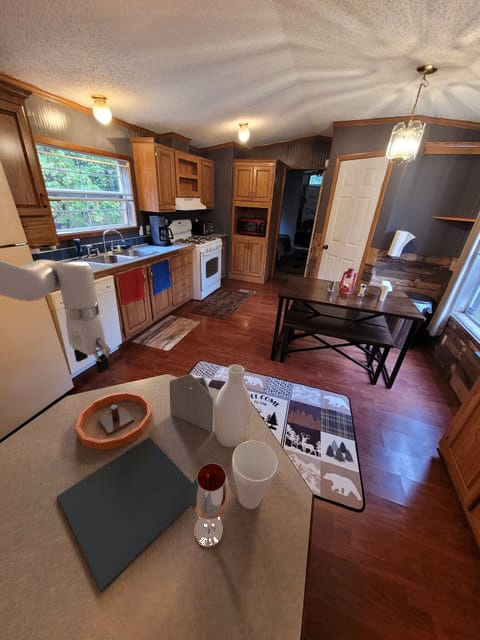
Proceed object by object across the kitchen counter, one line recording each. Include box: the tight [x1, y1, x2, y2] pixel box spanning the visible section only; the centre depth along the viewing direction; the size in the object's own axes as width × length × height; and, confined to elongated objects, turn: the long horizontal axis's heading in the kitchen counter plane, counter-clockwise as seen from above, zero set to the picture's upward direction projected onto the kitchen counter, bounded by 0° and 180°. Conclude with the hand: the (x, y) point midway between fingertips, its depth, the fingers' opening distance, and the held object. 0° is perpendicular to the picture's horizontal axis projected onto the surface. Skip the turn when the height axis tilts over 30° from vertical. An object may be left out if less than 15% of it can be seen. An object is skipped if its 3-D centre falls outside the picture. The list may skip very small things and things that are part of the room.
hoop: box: [74, 391, 152, 452], centre depth 81 cm, size 21×21×3 cm
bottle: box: [213, 363, 252, 448], centre depth 75 cm, size 11×11×25 cm
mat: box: [56, 436, 193, 593], centre depth 61 cm, size 24×24×1 cm
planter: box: [168, 373, 215, 433], centre depth 83 cm, size 16×8×19 cm, turn 65°
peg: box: [97, 404, 135, 436], centre depth 80 cm, size 8×8×6 cm
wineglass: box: [190, 462, 232, 548], centre depth 52 cm, size 8×8×18 cm
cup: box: [231, 439, 279, 510], centre depth 61 cm, size 10×10×14 cm
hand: (92, 365), depth 73 cm, fingers open, 9 cm apart
